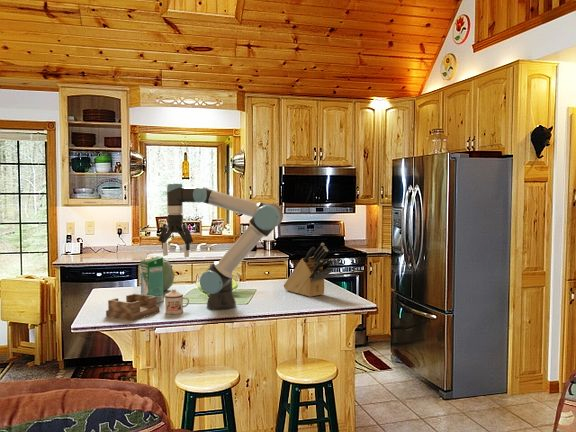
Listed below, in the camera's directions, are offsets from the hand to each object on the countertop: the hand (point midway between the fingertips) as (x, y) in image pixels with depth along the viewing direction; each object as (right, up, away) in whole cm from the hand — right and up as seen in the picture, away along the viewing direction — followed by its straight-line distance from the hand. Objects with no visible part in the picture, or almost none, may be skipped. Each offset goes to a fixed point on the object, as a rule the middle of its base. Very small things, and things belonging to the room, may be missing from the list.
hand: (175, 256), depth 253 cm
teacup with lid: (0, -29, +1) cm, 29 cm away
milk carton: (-19, -27, +26) cm, 42 cm away
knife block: (+68, -26, +43) cm, 85 cm away
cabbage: (-21, -26, +55) cm, 64 cm away
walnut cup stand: (-21, -29, -2) cm, 36 cm away
